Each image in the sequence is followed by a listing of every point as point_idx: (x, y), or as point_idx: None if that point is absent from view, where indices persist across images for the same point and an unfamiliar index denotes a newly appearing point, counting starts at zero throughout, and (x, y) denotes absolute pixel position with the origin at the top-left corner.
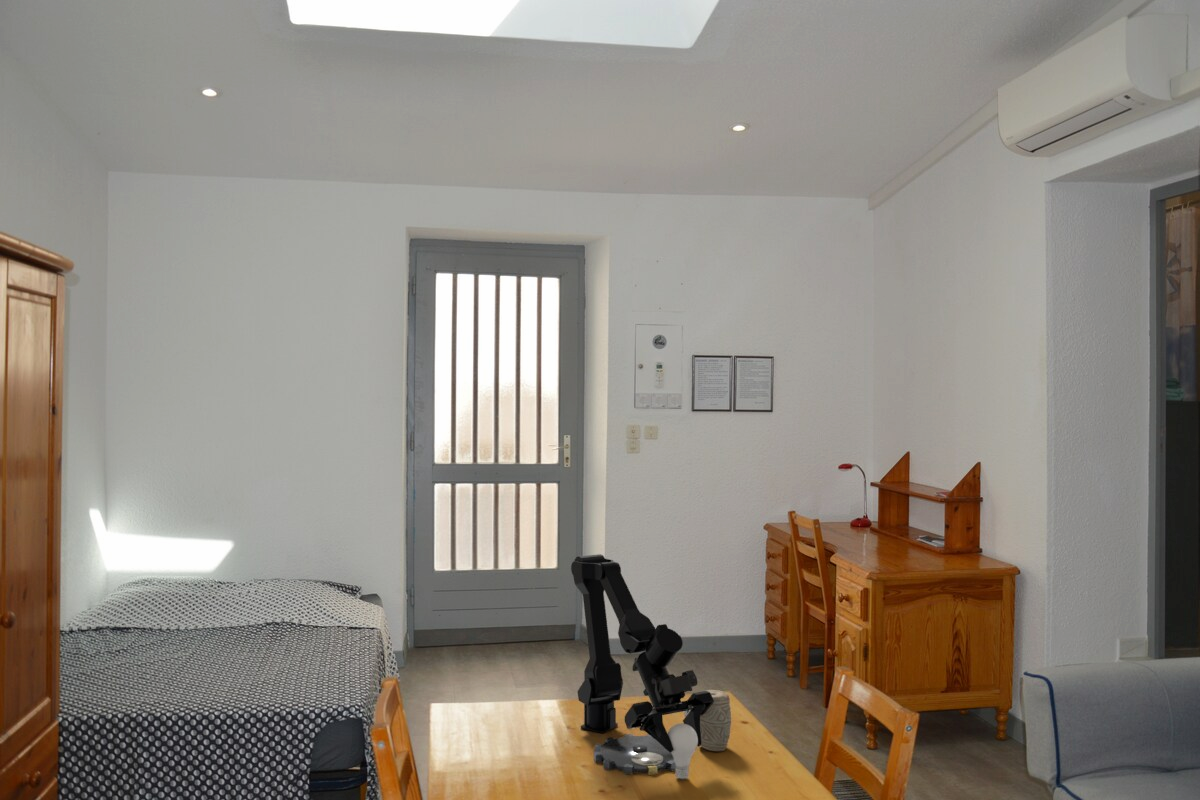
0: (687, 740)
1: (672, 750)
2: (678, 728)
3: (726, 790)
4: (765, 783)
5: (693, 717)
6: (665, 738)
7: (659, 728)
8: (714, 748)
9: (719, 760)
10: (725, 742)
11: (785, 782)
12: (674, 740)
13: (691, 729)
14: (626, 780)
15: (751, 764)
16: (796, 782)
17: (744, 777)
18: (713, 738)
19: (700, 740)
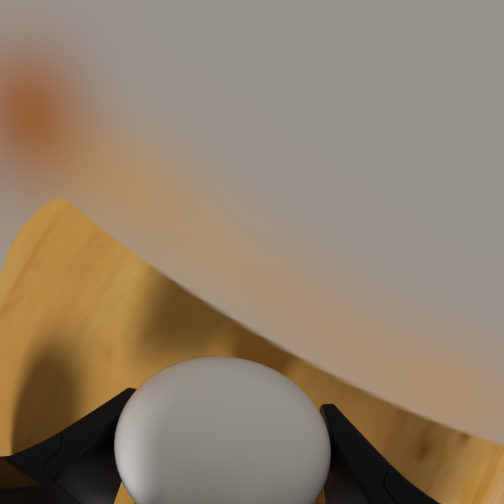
0: (249, 362)
1: (326, 405)
2: (275, 454)
3: (176, 282)
4: (77, 262)
5: (48, 486)
6: (371, 445)
7: (417, 490)
8: None
9: None
10: None
11: (52, 243)
12: (320, 416)
13: (163, 402)
14: None
15: (22, 364)
16: (43, 233)
17: (80, 319)
18: None
19: (122, 395)
